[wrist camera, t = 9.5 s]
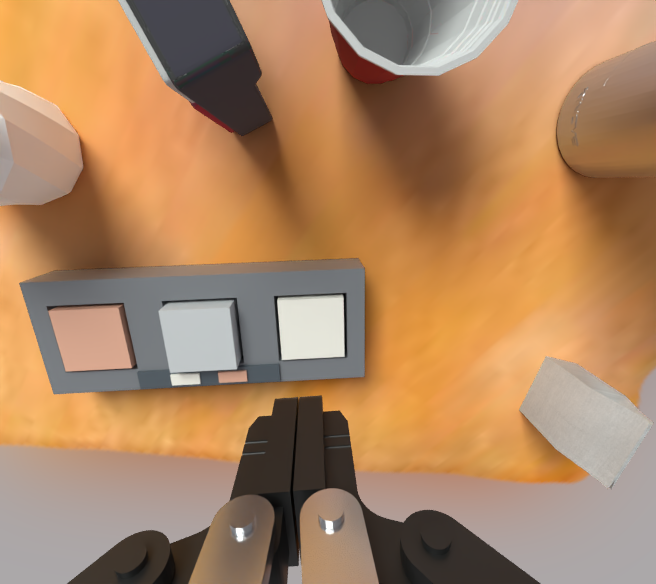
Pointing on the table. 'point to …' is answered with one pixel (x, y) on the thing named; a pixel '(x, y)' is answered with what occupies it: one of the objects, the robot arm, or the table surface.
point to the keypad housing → (189, 284)
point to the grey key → (201, 334)
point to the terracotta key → (93, 336)
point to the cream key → (311, 325)
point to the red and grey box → (203, 58)
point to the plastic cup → (412, 34)
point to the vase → (35, 149)
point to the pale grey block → (585, 419)
